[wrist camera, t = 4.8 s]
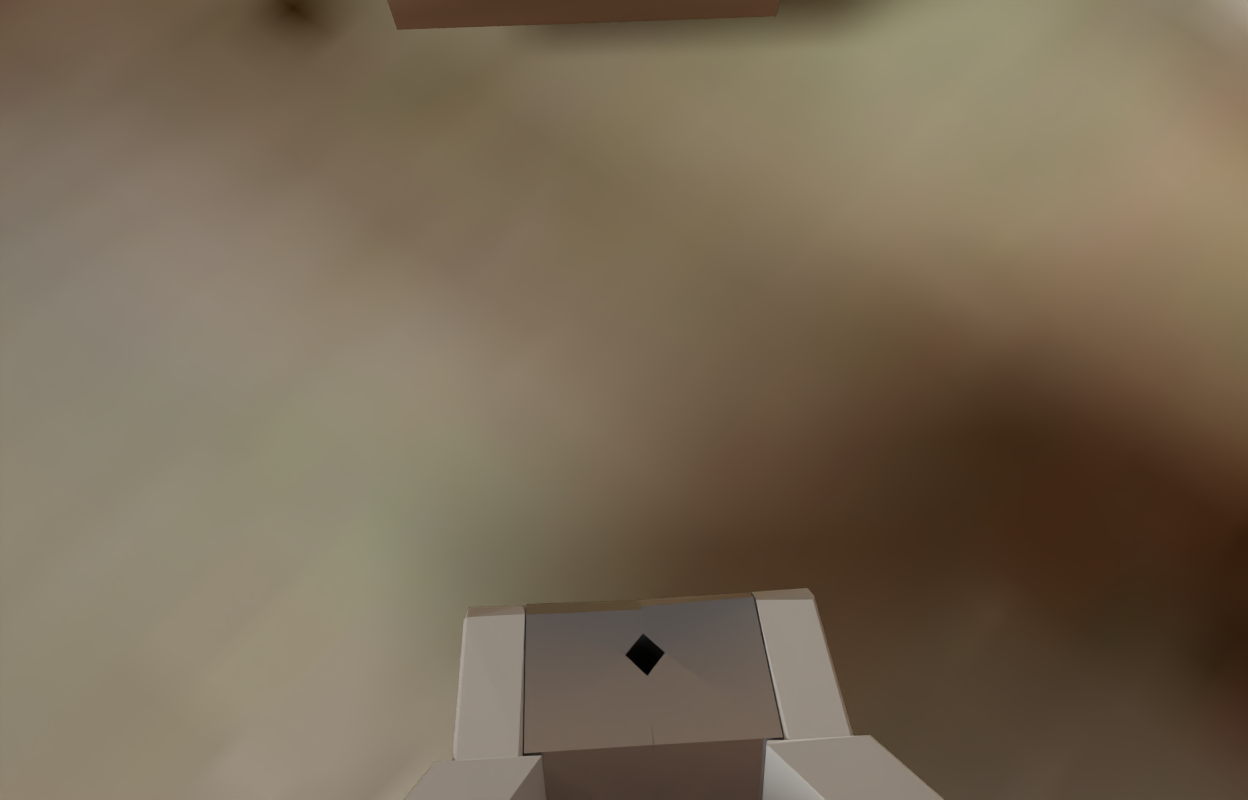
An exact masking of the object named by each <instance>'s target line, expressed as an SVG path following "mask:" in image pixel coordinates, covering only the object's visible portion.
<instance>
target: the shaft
mask: <svg viewBox="0 0 1248 800" xmlns="http://www.w3.org/2000/svg"><path fill="white" fill-rule="evenodd" d="M387 1H388V4H389V7H390V10H391V13H392V16H393V18H394V21H395V24H396V27H397V30H400V29H428V28H456V27H484V26H512V25H540V24H568V23H596V22H624V21H652V20H680V19H708V18H736V17H764V16H776V13H777V9H778V6H779V3H780V0H387Z"/></svg>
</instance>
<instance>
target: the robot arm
mask: <svg viewBox="0 0 1248 800" xmlns="http://www.w3.org/2000/svg"><path fill="white" fill-rule="evenodd" d="M403 800H945V799H943V798H942V797H941V796H940V795H939V794H938V793H937V792H935V791H934V790H933V789H932V788H931V787H930V786H929V785H927V784H926V783H925V782H924V781H923V780H922V779H921V778H920V777H918V776H917V775H916V774H915V773H914V772H913V771H912V770H910V769H909V768H908V767H907V766H906V765H905V764H904V763H902V762H901V761H900V760H899V759H898V758H897V757H896V756H894V755H893V754H892V753H891V752H890V751H889V750H888V749H886V748H885V747H884V746H883V745H882V744H881V743H880V742H878V741H877V740H876V739H875V738H874V737H873V736H872V735H857V736H853V732H852V729H851V725H850V722H849V718H848V714H847V711H846V707H845V704H844V700H843V697H842V693H841V690H840V686H839V682H838V679H837V675H836V672H835V668H834V665H833V661H832V657H831V654H830V650H829V647H828V643H827V640H826V636H825V632H824V629H823V625H822V622H821V618H820V615H819V611H818V608H817V604H816V600H815V597H814V595H813V594H812V593H811V592H810V590H809V589H808V588H800V589H785V590H771V591H757V592H752V593H751V594H749V593H748V592H745V593H730V594H715V595H700V596H685V597H670V598H655V599H640V600H634V601H604V602H574V603H544V604H527V607H526V606H490V607H468V610H467V613H466V616H465V619H464V624H463V637H462V649H461V661H460V673H459V686H458V698H457V710H456V723H455V735H454V747H453V759H452V760H451V761H439V762H434V763H433V765H432V766H431V767H430V768H429V769H428V771H427V772H426V773H425V774H424V775H423V777H422V778H421V779H420V780H419V781H418V783H417V784H416V785H415V786H414V787H413V789H412V790H411V791H410V792H409V793H408V795H407V796H406V797H405V798H404V799H403Z"/></svg>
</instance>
